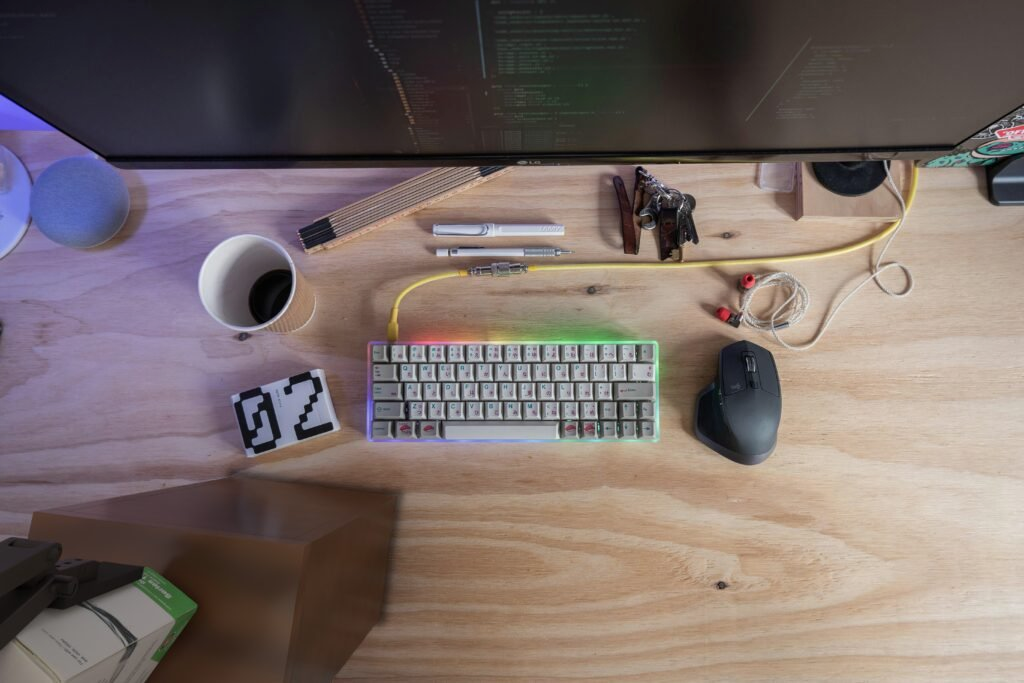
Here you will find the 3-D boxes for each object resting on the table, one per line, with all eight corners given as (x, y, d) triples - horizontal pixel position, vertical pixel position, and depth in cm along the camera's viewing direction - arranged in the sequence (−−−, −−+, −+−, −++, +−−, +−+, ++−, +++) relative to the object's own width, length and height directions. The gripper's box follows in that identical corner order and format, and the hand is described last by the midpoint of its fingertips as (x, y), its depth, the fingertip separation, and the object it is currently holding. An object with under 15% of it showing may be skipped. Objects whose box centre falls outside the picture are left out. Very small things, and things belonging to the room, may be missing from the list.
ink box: (148, 561, 41) (-6, 616, 29) (203, 606, 40) (68, 681, 29) (64, 671, 40) (-129, 773, 28) (119, 718, 40) (-55, 842, 28)
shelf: (280, 747, 42) (271, 759, 40) (7, 708, 43) (-12, 719, 41) (312, 541, 44) (304, 545, 42) (49, 508, 45) (33, 511, 43)
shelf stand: (379, 619, 70) (280, 747, 42) (212, 597, 70) (7, 708, 43) (396, 496, 71) (312, 541, 44) (233, 476, 72) (49, 508, 45)
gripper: (-490, 524, 17) (85, 468, 39) (-806, 1484, 14) (9, 838, 36) (-244, 557, 17) (196, 482, 39) (-515, 1548, 14) (128, 856, 36)
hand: (106, 653), depth 38 cm, fingers closed on ink box, 9 cm apart
